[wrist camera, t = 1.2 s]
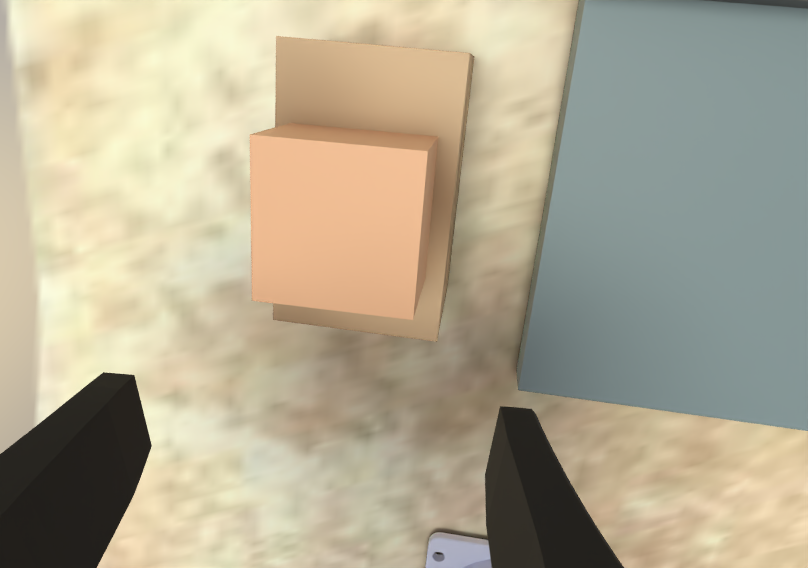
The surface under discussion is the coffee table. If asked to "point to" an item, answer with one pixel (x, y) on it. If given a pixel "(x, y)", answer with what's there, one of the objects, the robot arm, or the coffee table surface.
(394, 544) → the coffee table surface
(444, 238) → the tan rectangular block
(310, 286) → the carton
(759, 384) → the dock
